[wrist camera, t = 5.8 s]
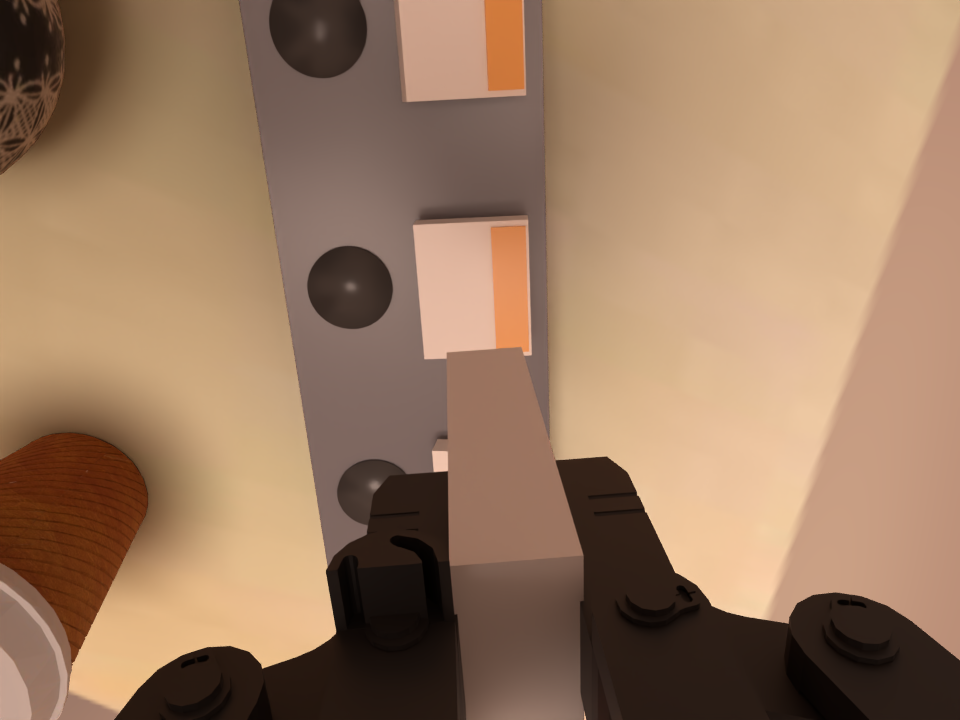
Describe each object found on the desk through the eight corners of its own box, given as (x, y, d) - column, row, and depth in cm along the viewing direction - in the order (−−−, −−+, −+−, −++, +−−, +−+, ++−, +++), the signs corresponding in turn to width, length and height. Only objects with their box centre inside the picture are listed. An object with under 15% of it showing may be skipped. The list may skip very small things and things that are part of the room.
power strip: (246, -116, 24) (214, -151, 21) (527, -130, 25) (539, -166, 21) (343, 544, 34) (331, 593, 31) (542, 531, 35) (552, 578, 31)
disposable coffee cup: (191, 421, 32) (49, 597, 21) (174, 587, 35) (44, 818, 24) (-28, 381, 31) (-304, 544, 19) (-24, 556, 34) (-260, 783, 23)
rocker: (387, -72, 21) (392, -81, 20) (512, -72, 22) (523, -81, 21) (402, 102, 23) (407, 101, 22) (517, 95, 24) (527, 95, 23)
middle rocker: (416, 220, 25) (412, 225, 24) (527, 215, 25) (528, 220, 24) (426, 350, 27) (424, 360, 26) (530, 346, 26) (531, 356, 25)
